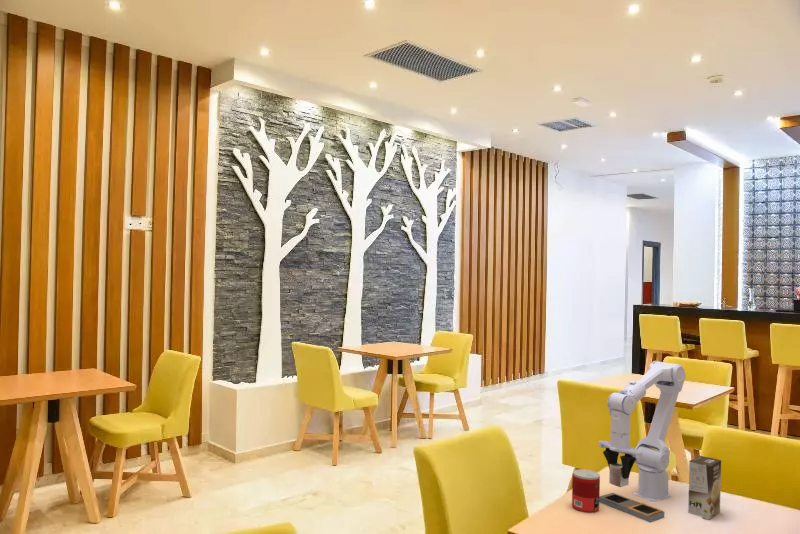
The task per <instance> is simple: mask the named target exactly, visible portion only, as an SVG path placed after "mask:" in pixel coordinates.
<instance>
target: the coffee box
mask: <svg viewBox="0 0 800 534" xmlns="http://www.w3.org/2000/svg"><path fill="white" fill-rule="evenodd" d="M688 463H689V467H688V468H689V470H688V471H689V472H688V506H687V507H688V509H687V513H688V514H691V515H694V516H697V517H701V518H702V519H706V520H711V519H712V518H714V517H716V516H717V515H718V514H720V512H721V486H722V485H721V481H722V460H721V459H718V458H713V457H708V456H703V455H700V456H697V457H695V458H693V459H690V460H689V461H688Z"/></svg>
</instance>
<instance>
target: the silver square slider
mask: <svg viewBox="0 0 800 534" xmlns="http://www.w3.org/2000/svg"><path fill="white" fill-rule="evenodd" d="M608 477H609V478H608V479H609V483H608V484H609V485H613V486H616V487H618V488H623V487H626V486H629V484H630V483H629V482H630V481H629V478H630V477H629V478H627V479H623V475H622V462H619V461H617V462H616V463H612V464H610V469H609V476H608Z"/></svg>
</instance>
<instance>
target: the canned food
mask: <svg viewBox="0 0 800 534" xmlns="http://www.w3.org/2000/svg"><path fill="white" fill-rule="evenodd" d="M600 480H601V476H600V474H599V472H596V471H594V470H590V469H583V468H582V469H581V468H579V469H575V470H574V469H573V470H572V489H571V490H572V491H571V505H572V508H573V509H574V510H576V511H578V512H581V513H588V514H592V513H596V512H598V511H599V510H600V502H599V497H600V492H601V491H600V490H601V489H600V487H601V486H600V485H601V481H600Z"/></svg>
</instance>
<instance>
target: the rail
mask: <svg viewBox="0 0 800 534" xmlns="http://www.w3.org/2000/svg"><path fill="white" fill-rule="evenodd" d="M599 504H603V505H605V506H607V507H610V508H613V509H616V510H617V511H620V512H623V513H625V514H628V515H631V516H633V517H635V518H638V519H641V520H643V521H645V522H648V523H652V522H654V521H658V520H660V519H663V518H665V510H664V511H663V509H659V508H657V507H654V506H651V505H649V504H646V503H643V502H639V501H636V500H633V499H631V498H629V497H625V496H623V495H621V494H618V493H615V492H609V493H608V494H607V493H606V494H604V495H599Z"/></svg>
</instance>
